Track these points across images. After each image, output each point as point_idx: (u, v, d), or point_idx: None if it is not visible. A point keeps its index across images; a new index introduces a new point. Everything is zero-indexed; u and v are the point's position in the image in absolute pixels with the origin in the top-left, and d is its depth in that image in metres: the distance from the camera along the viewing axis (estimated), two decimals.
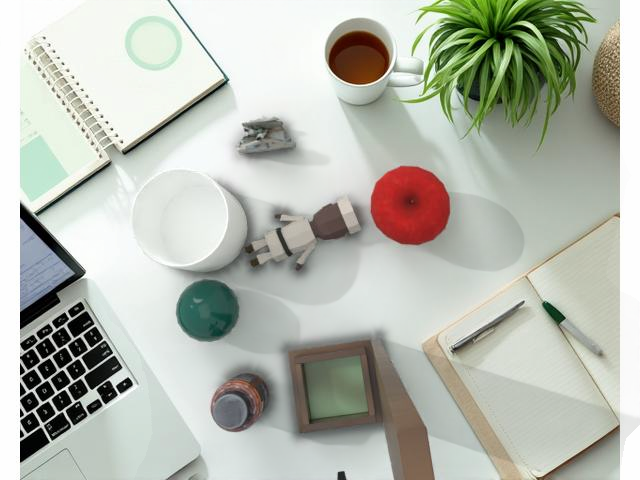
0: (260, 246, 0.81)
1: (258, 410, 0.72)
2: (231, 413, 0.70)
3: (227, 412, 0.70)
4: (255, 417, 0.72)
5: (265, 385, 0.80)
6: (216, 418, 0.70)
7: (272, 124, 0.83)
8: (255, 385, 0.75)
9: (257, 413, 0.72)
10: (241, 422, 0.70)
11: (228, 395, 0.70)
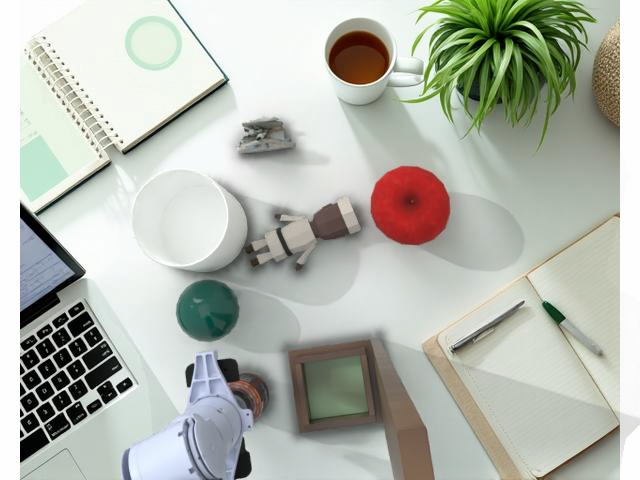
0: (260, 246, 0.81)
1: (258, 410, 0.72)
2: None
3: None
4: (255, 417, 0.72)
5: (265, 385, 0.80)
6: None
7: (272, 125, 0.83)
8: (255, 385, 0.75)
9: (257, 413, 0.72)
10: None
11: None
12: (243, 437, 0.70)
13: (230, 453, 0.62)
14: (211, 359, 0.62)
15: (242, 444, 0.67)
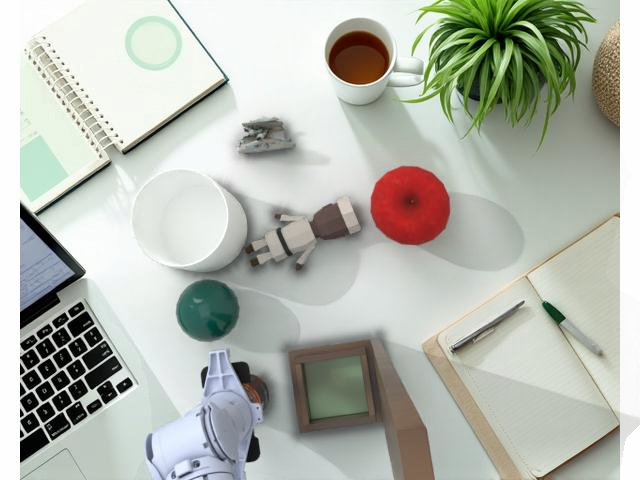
0: (260, 246, 0.81)
1: None
2: None
3: None
4: None
5: (265, 385, 0.80)
6: None
7: (272, 125, 0.83)
8: (255, 386, 0.75)
9: None
10: None
11: None
12: None
13: (241, 444, 0.67)
14: (224, 357, 0.68)
15: (251, 432, 0.73)
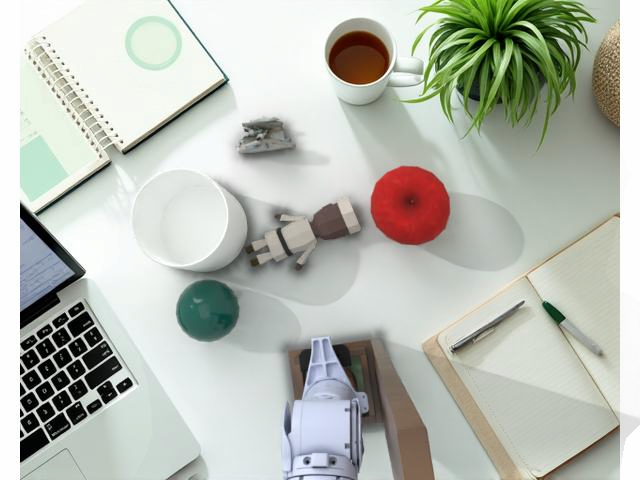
0: (260, 246, 0.81)
1: None
2: None
3: None
4: None
5: (353, 375, 0.78)
6: None
7: (272, 125, 0.83)
8: (348, 374, 0.74)
9: None
10: None
11: None
12: None
13: None
14: (327, 344, 0.65)
15: None
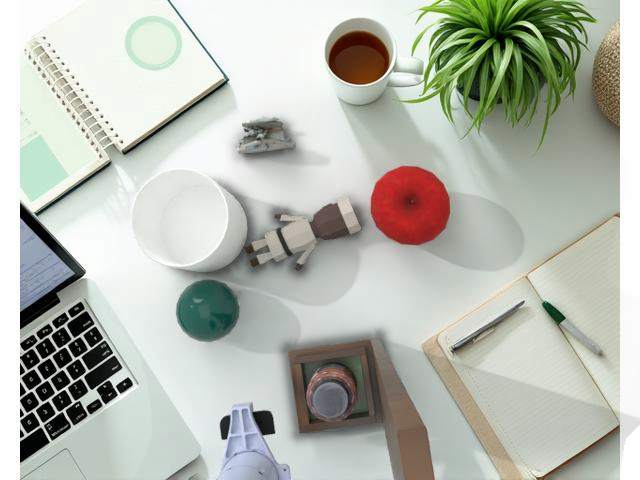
0: (260, 246, 0.81)
1: (356, 399, 0.71)
2: (332, 402, 0.68)
3: (328, 401, 0.68)
4: (353, 406, 0.71)
5: (353, 375, 0.78)
6: (317, 407, 0.68)
7: (272, 125, 0.83)
8: (348, 374, 0.74)
9: (355, 402, 0.71)
10: (342, 411, 0.68)
11: (328, 383, 0.69)
12: None
13: None
14: (247, 413, 0.62)
15: None
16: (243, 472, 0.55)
